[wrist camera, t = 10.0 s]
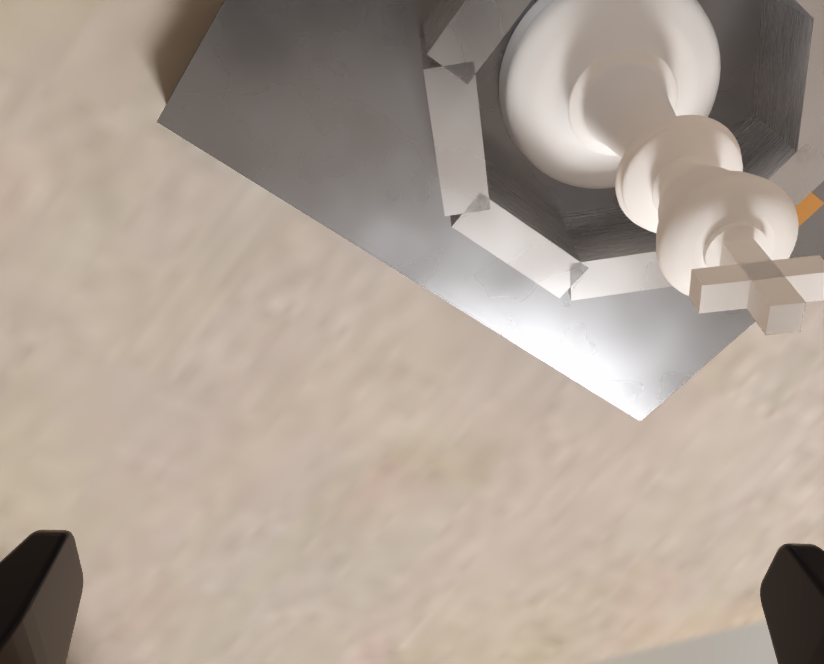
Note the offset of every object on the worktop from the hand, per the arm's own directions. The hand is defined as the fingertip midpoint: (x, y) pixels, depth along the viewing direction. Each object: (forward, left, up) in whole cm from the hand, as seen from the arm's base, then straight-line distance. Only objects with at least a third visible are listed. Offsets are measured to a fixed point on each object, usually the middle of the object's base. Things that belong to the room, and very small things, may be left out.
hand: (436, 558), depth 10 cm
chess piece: (+2, +5, -12) cm, 13 cm away
